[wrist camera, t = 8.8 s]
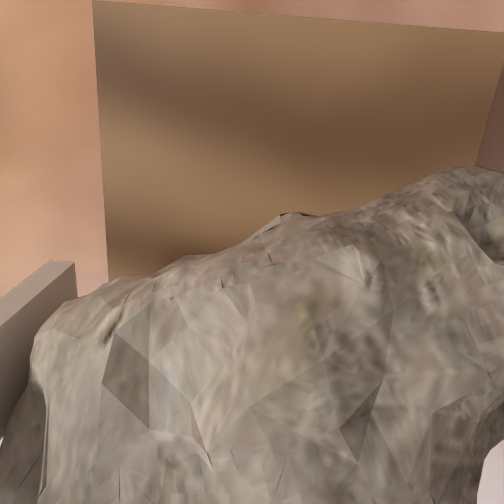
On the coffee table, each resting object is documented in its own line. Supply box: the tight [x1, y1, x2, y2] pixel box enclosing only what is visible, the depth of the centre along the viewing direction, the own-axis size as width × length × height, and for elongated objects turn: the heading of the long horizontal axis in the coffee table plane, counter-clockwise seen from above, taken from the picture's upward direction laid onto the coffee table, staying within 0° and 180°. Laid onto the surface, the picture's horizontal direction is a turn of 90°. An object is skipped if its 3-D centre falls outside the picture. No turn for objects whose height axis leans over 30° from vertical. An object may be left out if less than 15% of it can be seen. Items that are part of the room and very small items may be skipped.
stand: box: [92, 0, 504, 282], centre depth 17 cm, size 18×13×3 cm
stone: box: [0, 166, 504, 504], centre depth 10 cm, size 9×14×10 cm, turn 107°
